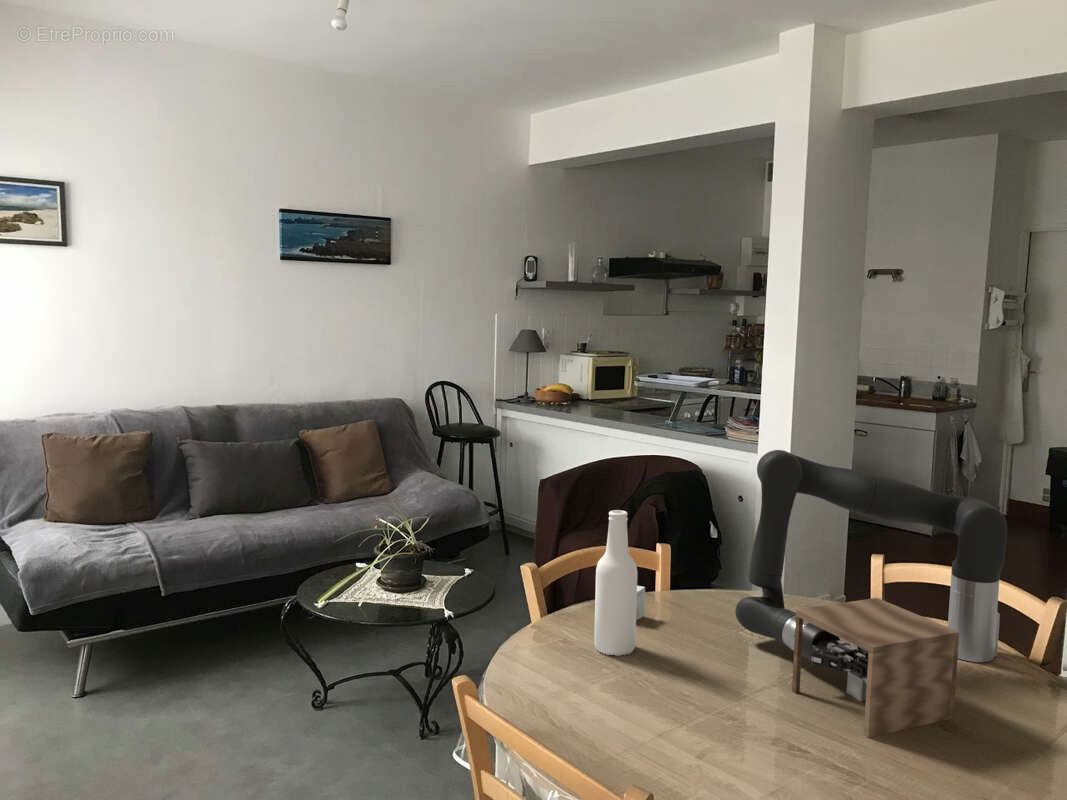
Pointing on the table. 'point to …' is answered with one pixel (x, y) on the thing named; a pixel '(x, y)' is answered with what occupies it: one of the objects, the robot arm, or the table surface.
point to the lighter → (856, 686)
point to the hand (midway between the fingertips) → (872, 671)
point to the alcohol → (616, 592)
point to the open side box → (892, 661)
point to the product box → (640, 602)
